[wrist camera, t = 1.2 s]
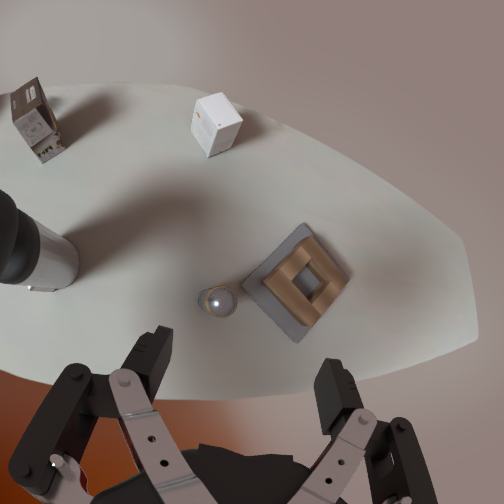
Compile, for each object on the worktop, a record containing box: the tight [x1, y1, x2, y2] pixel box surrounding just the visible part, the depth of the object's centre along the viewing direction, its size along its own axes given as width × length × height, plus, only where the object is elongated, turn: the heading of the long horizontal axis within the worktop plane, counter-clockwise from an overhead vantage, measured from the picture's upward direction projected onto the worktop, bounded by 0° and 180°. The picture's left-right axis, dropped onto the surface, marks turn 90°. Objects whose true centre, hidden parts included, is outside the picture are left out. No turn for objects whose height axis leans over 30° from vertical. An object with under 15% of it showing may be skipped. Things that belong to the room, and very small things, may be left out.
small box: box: [191, 92, 243, 158], centre depth 48 cm, size 8×6×10 cm
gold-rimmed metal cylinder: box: [198, 286, 237, 318], centre depth 42 cm, size 4×4×12 cm
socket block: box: [261, 236, 348, 327], centre depth 51 cm, size 12×12×4 cm
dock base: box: [240, 223, 349, 343], centre depth 53 cm, size 18×16×2 cm
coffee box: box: [10, 77, 65, 163], centre depth 34 cm, size 9×6×16 cm
